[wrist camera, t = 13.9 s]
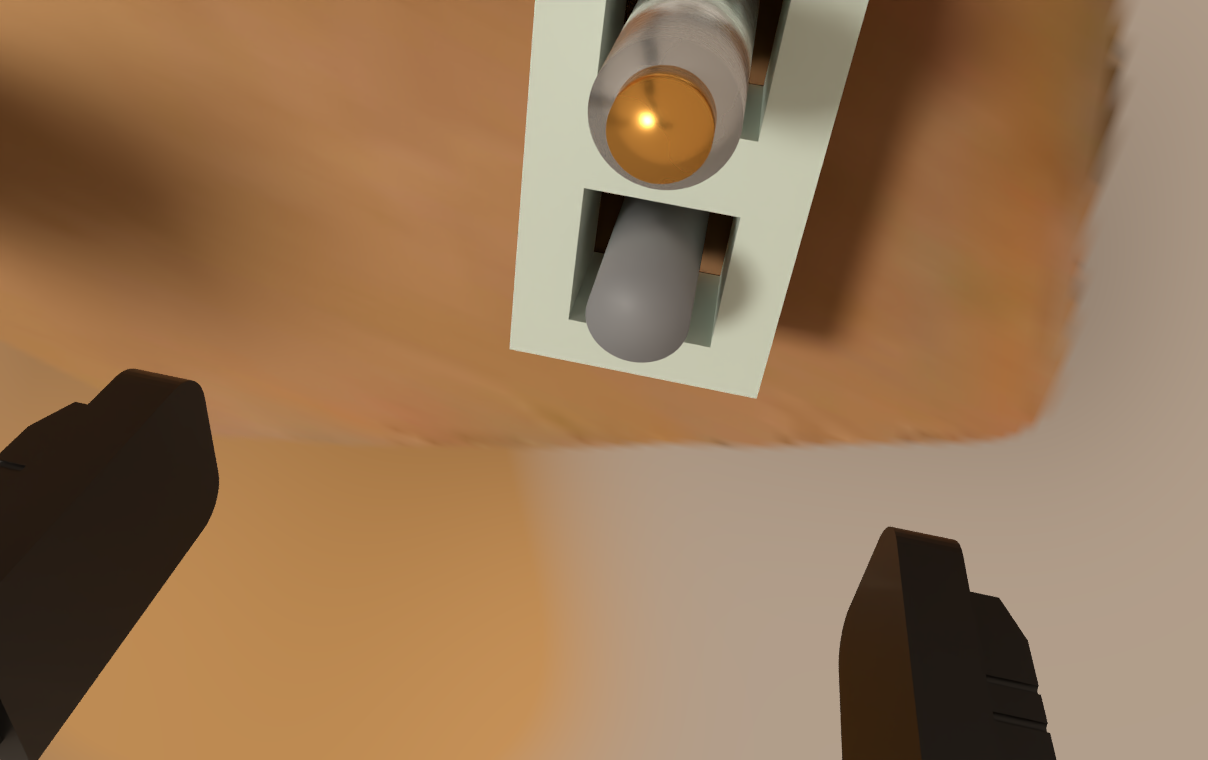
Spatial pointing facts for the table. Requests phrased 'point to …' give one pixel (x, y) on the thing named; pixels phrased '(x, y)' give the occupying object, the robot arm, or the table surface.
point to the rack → (670, 208)
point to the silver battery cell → (674, 91)
